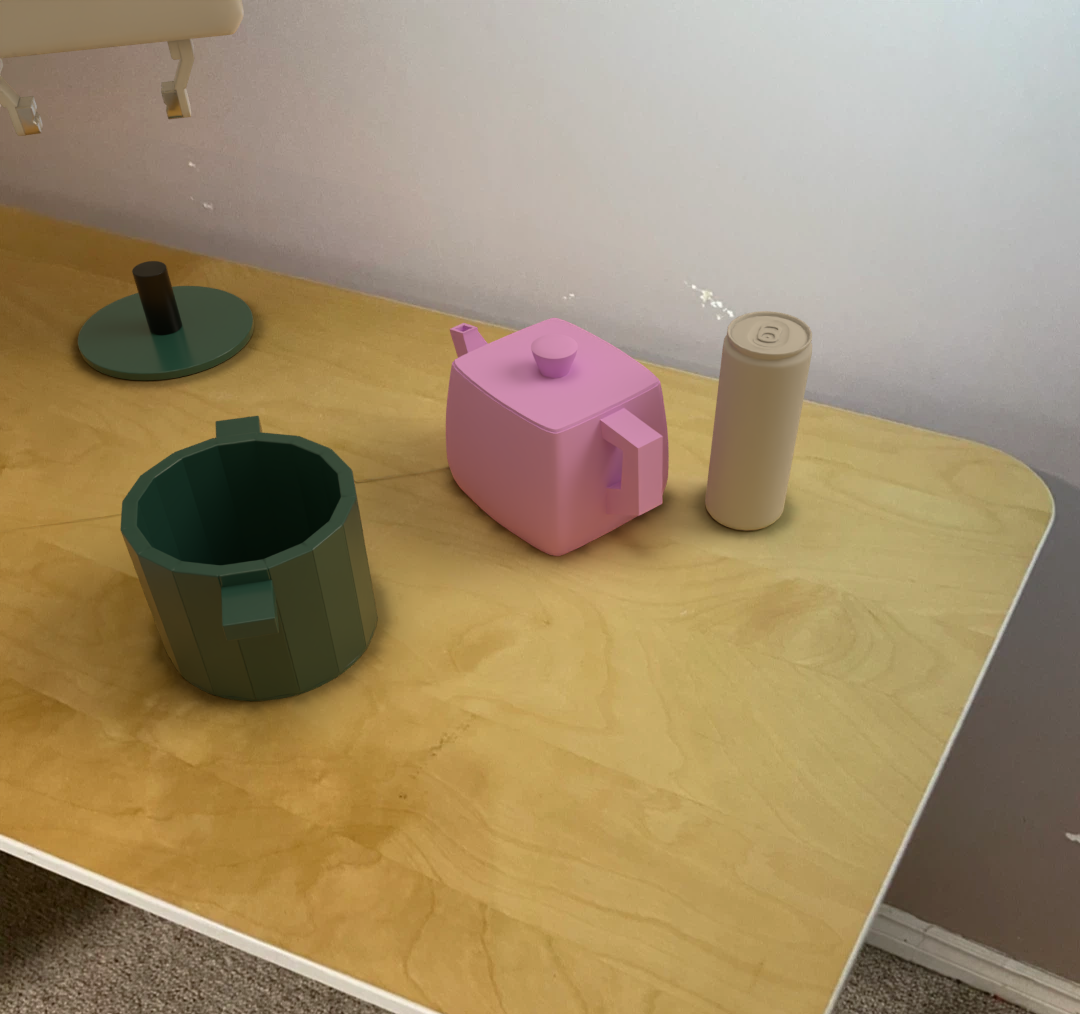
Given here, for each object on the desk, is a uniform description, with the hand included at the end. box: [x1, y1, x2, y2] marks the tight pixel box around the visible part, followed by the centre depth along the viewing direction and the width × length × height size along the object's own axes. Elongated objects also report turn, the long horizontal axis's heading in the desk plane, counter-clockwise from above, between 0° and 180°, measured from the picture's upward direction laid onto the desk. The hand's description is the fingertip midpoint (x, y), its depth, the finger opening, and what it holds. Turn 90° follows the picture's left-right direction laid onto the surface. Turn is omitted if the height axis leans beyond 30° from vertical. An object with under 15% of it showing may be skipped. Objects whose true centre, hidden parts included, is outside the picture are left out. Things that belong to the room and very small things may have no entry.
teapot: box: [445, 317, 670, 557], centre depth 67 cm, size 18×10×10 cm, turn 39°
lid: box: [77, 260, 255, 382], centre depth 82 cm, size 13×13×6 cm
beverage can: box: [704, 310, 813, 532], centre depth 65 cm, size 5×5×12 cm
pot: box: [119, 415, 379, 702], centre depth 59 cm, size 12×17×9 cm
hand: (106, 123), depth 72 cm, fingers open, 8 cm apart
